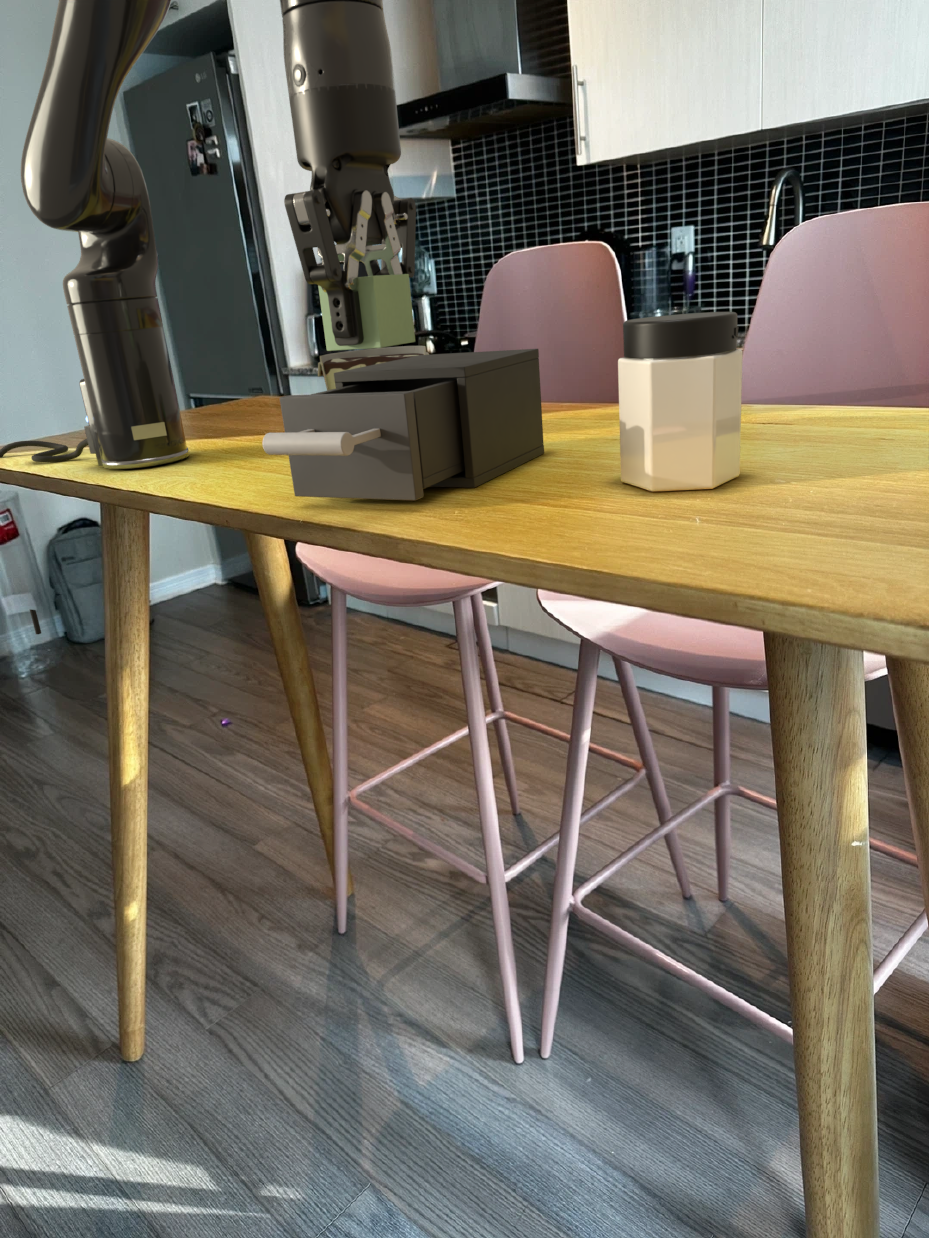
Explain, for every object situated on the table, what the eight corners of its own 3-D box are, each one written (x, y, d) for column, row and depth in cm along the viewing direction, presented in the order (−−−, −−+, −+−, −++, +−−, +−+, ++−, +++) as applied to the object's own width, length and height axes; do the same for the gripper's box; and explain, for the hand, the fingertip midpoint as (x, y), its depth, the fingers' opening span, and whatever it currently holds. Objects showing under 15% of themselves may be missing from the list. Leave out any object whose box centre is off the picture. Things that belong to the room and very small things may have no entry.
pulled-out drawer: (377, 519, 61) (362, 404, 58) (250, 513, 66) (232, 407, 64) (495, 463, 76) (488, 371, 74) (385, 462, 82) (374, 376, 79)
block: (326, 351, 68) (317, 281, 66) (363, 345, 72) (355, 279, 70) (381, 348, 65) (373, 275, 64) (415, 341, 69) (408, 274, 68)
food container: (446, 434, 101) (437, 342, 97) (439, 443, 95) (430, 346, 92) (340, 441, 102) (328, 352, 99) (328, 451, 96) (314, 356, 93)
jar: (760, 481, 66) (766, 311, 61) (665, 498, 63) (664, 322, 59) (692, 463, 74) (692, 312, 69) (605, 478, 71) (600, 322, 67)
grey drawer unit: (474, 488, 72) (464, 366, 69) (348, 484, 78) (333, 373, 75) (544, 453, 84) (538, 348, 81) (430, 452, 90) (420, 355, 87)
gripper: (324, 64, 55) (358, 348, 61) (437, 96, 67) (457, 332, 73) (232, 86, 58) (273, 353, 64) (355, 113, 70) (380, 336, 76)
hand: (370, 340), depth 68 cm, fingers closed on block, 5 cm apart
